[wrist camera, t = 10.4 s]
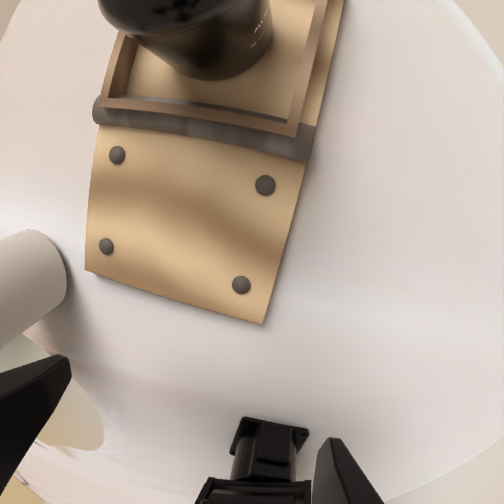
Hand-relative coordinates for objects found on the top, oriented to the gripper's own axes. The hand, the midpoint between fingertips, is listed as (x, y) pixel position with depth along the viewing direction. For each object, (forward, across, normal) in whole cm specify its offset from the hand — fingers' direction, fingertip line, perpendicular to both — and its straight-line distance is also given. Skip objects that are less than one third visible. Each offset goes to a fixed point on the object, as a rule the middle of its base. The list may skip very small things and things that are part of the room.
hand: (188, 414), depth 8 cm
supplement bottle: (+12, +5, -15) cm, 20 cm away
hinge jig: (+13, +5, -9) cm, 17 cm away
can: (+13, +18, +5) cm, 23 cm away
